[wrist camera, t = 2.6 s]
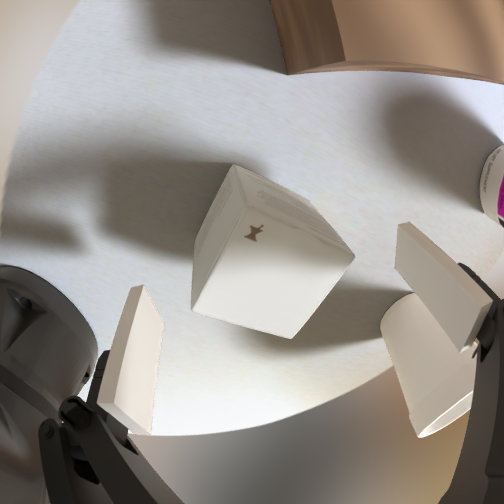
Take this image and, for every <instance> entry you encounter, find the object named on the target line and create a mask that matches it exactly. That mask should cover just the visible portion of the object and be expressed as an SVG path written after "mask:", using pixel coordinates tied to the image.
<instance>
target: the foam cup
mask: <svg viewBox="0 0 504 504" xmlns="http://www.w3.org/2000/svg"><path fill="white" fill-rule="evenodd" d="M380 330H381V332H382V336H383V339H384V341H385V344H386V346H387V349H388V352H389V354H390V357H391V360H392V362H393V365H394V368H395V370H396V373H397V376H398V379H399V382H400V385H401V388H402V391H403V394H404V397H405V400H406V403H407V406H408V409H409V412H410V416H409V418H410V421H411V423H412V425H413V427H414V430H415V432H416V434H417V436H418V437H421V438H422V437H425V436H428V435H430V434H433V433H434V432H436V431H438V430H440V429H442V428H443V427H445V426H447V425H449V424H450V423H452V422H453V421H454V420H456V419H457V418H459V417H460V416H462V415H463V414H464V413H466V412H467V411H468V410H469V409H471V404H472V397H473V390H474V383H475V373H476V362H477V359H476V358H477V353H476V355H475V357H474V359H473V358H472V355H473V353H474V351H475V349H476V347H477V346H478V344H476V342H475V341H474V343H473V345H472V347H470V348H468V349H466V350H465V351H463V352H461V353H459V351H458V350H457V348H456V347H455V345H454V344H453V343H452V341H451V340H450V338H449V337H448V336H447V334H446V333H445V331H444V330H443V329H442V327H441V326H440V324H439V323H438V322H437V320H436V319H435V318H434V316H433V315H432V314H431V312H430V311H429V310H428V309H427V307H426V306H425V305H424V303H423V302H422V301H421V300H420V298H419V297H418V296H417V295H416V293H412V294H408V295H406V296H404V297H402V298H401V299H399V300H398V301H396V302H395V303H394V304H393V305H392V306H391V307H390V308H389V309H388V310H387V311H386V313H385V314H384V316H383V318H382V320H381V322H380Z"/></svg>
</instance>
